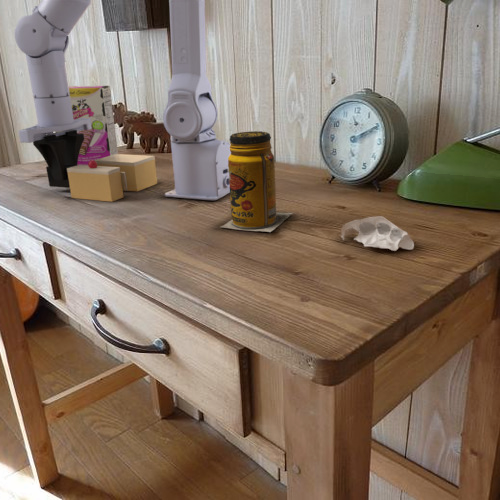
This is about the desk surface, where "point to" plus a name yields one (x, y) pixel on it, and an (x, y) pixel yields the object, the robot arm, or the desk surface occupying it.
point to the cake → (133, 169)
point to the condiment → (252, 183)
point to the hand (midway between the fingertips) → (65, 178)
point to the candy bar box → (94, 121)
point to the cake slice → (95, 182)
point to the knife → (66, 182)
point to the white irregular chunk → (378, 233)
